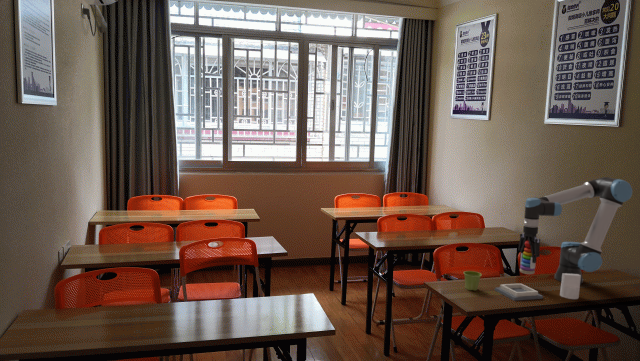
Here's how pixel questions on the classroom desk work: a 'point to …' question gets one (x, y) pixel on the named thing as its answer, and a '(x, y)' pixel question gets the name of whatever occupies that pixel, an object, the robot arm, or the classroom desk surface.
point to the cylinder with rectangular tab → (570, 286)
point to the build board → (518, 292)
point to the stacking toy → (526, 260)
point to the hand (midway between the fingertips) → (527, 266)
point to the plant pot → (472, 280)
